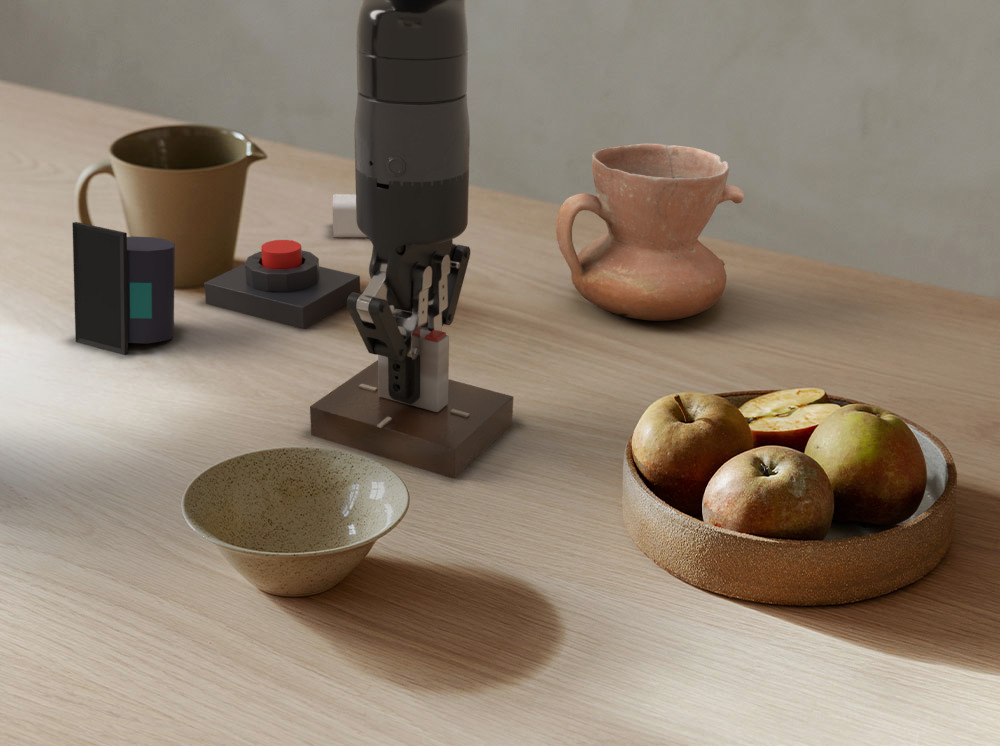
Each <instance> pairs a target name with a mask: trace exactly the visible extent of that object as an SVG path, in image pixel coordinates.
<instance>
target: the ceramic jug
mask: <svg viewBox="0 0 1000 746" xmlns="http://www.w3.org/2000/svg"><path fill="white" fill-rule="evenodd" d="M591 170H592V178H593V184H594V189H595V193H596V195H594V194H590V193H577V194H574V195H571V196H570V197H567V198H566V199H565V200H564V201H563V203H562V204H561V206H560V207H559V211H558V213H557V217H556V225H555V227H556V228H555V233H556V240H557V244H558V248H559V251H560V253H561V254H562V257H563V259H564V260H565V262H566V264H567V265H568V268H569V270H570V274H571V275H570V277H571V282H572V285H574V288H575V289H576V290H577V292H578V293H579V294H580V295H581V296H582V297H583V298H584V299H586V300H587V301H588V302H590V303H592V304H593V305H595V306H597V307H598V308H601V309H603V310H605V311H607V312H610V313H613V314H615V315H619V316H622V317H625V318H630V319H635V320H641V321H651V322H652V321H653V322H655V321H656V322H657V321H658V322H665V321H666V322H667V321H675V320H676V321H677V320H681V319H686V318H689V317H692V316H695V315H698V314H701V313H703V312H706V311H707V310H709V309H710V308H712V307H713V306H714V305H715V304H717V302H718V301H719V300H720V298H721V297H722V295H723V294H724V292H725V290H726V286H727V272H726V269H725V268H726V267H725V265H726V264H725V262H724V260H723V259H721V258H720V257H718V256H717V254H715V253H714V252H713V251H712V250H710V249H709V247H707V246H706V245H704V244H703V243H702V242H701V241H700V240H699V239H698V238H699V237H700V235H701V234H702V232H703V231H704V229H705V228H706V226H707V224H708V223H709V221H710V220H711V218H712V216H713V214H714V213H715V210H716V209H717V206H718V205H719V204H722V203H724V202H728V201H732V203H734V204H737V205H739V204H741V203H742V202H743V201H744V199H745V195H744V191H743V189H742V188H739V187H738V186H736V185H729V184H727V181H728V177H729V172H730V167H729V163H728V162H727V161H726V160H724V161H722V159H721V156H719V155H718V154H715V153H713V152H711V151H707V150H704V149H700V148H697V147H691V146H684V145H675V144H674V145H673V144H672V145H668V144H664V143H638V144H637V143H636V144H635V143H634V144H629V145H618V146H614V147H613V146H612V147H606V148H601V149H599V150H596V151H594V152H592V155H591ZM726 184H727V185H726ZM582 211H588V212H591V213H594V214H595V215H597V216H598V217H599V218H600V219H602V220H603V221H604V222H605V225H606V227H607V230H608V231H607V232H605V234H603V235H602V236H599V237H597V238H596V239H594V240H593V241H591V242H589V243H588V244H587V245H585V246H583V248H581V249H580V251H579V252H578V253H577V252H576V249H575V246H574V242H573V226H574V222H575V220H576V217H577V215H578V214H579V212H582Z"/></svg>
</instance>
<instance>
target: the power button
mask: <svg viewBox="0 0 1000 746" xmlns="http://www.w3.org/2000/svg"><path fill="white" fill-rule="evenodd" d="M260 249H261V250H260V252H262V265H263V267H266V268H271V269H289V268H295V267H298V266H300V265H302V250H303V249H302V244H301V243H300V242H298V241H295V240H293V239H274V240H270V241H266V242H264V243H262V245H261V246H260Z"/></svg>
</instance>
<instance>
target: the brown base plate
mask: <svg viewBox="0 0 1000 746" xmlns="http://www.w3.org/2000/svg"><path fill="white" fill-rule="evenodd" d="M513 414H514V396H513V395H510V394H506V393H503V392H498V391H494V390H491V389H487V388H483V387H479V386H475V385H472V384H468V383H465V382H461V381H457V380H453V379H449V378H448V404H447V405H446V406H445V407H444V408H443V409H441V410H440V411H439V412H434V411H430V410H426V409H423V408H419V407H415V406H412V405H408V404H404V403H401V402H397V401H393V400H390V399H386V398H382V397H379V381H378V359H377V360H375V361H374V362H372V363H371V364H370V365H367V366H366V367H365V368H363V369H362V370H361V371H358V373H356V374H355V375H353V376H352V377H350V378H349V379H347V380H346V381H345V382H343V383H342V384H340V385H339V386H337V387H336V388H335V389H333V390H331V391H330V392H329V393H327V394H325V395H324V396H323V397H321V398H320V399H319V400H316V401H315V402H314V403H313V404H311V405H310V406H309V419H310V435H311V436H312V437H316V438H318V439H323V440H326V441H329V442H333V443H336V444H339V445H342V446H345V447H348V448H352V449H355V450H359V451H361V452H365V453H368V454H372V455H375V456H378V457H381V458H384V459H388V460H390V461H394V462H398V463H401V464H403V465H406V466H409V467H414V468H417V469H420V470H424V471H426V472H430V473H433V474H436V475H440V476H442V477H446V478H450V479H453V480H455V479H456V478H457V477H459V475H460V474H462V473H463V472H464V471H465V470H466V469H467V468H468V467H469V466H470V465H471V464H472V463H473V462H475V460H476V459H477V458H479V457H480V456H481V455H482V454H483V453H484V452H485V451H486V450H487V449H488V448H489V447H490V446H491V445H493V443H494V442H496V440H497V439H499V438H500V437H501V436H502V435H503V434H504V433H505V432H506V431H507V430H509V429H510V427H512V425H513V417H514V416H513Z"/></svg>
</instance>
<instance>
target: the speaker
mask: <svg viewBox="0 0 1000 746" xmlns="http://www.w3.org/2000/svg"><path fill="white" fill-rule="evenodd" d="M175 251H176V243H175V242H173V241H171V240H167V239H165V238H160V237H153V236H133V235H132V236H128V233H127V232H125V231H121V230H115V229H111V228H106V227H101V226H98V225H97V226H96V225H92V224H89V223H88V224H86V223H83V222H78V221H74V222H72V258H73V259H72V261H73V263H72V264H73V294H74V295H73V296H74V297H73V299H74V331H75V333H74V334H75V338H74V339H75V343H76V344H81V345H84V346H88V347H93V348H95V349H99V350H104V351H107V352H111V353H115V354H118V355H123V356H126V355H128V354H129V344H153V343H160V342H165V341H169V340H171V339H173V338H174V337H173V336H174V334H175V333H174V332H175V270H176V269H175V268H176V267H175V264H176V263H175V260H176V259H175V257H176V254H175V253H176V252H175Z"/></svg>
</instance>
